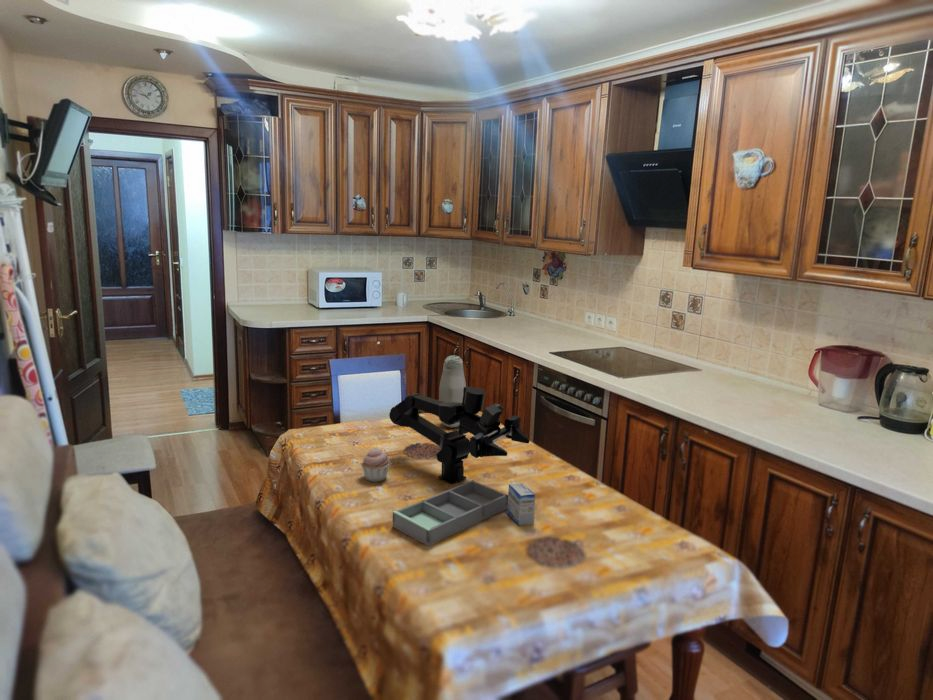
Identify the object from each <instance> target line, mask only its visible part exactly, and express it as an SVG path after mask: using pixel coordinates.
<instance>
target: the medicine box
mask: <svg viewBox="0 0 933 700" xmlns="http://www.w3.org/2000/svg"><path fill="white" fill-rule="evenodd" d="M507 495H508V506H507V509H506V513H507V514H508V516H509V517H510V518H511V519H513V521H514V522H515V523H516V524H517V525H518V526H527V525H533V524H534V521H535V508H536V507H535V506H536V494H535V493H534V492H533V491H532V490H531V489H530V488H529V487H527V486H526V485H525V484H524V483H523V482H515V483H509V484H508V492H507Z"/></svg>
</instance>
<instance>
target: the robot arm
mask: <svg viewBox="0 0 933 700" xmlns="http://www.w3.org/2000/svg"><path fill="white" fill-rule="evenodd" d="M485 396H486V390H485V389H483V388H481V387H473V386H472V387H471V386H466V387H464V390H463V401H462V403H458V402H449V403H446V402H442V401H439V399H435V398H432V397H428V396H426V395H423V394H422V393H413V394H409V395H407V396H406V397H405V398H404V399H403V400H401V402H399V403H397V404H396V405H395V406H393V407H392V408H391V409H390V411H389V415H388V416H389V418H390V421H391V422H392V423H393V425H396V426H399V427H403V428H410V429H412V430H413V431H414V432H417V433H418V434H419V435H421V436H423V437H424V438H425V439H427V440H429V441H430V442H433V443H434V444H435V445H437V446H438V447H439V451H438V452H437V453H436V460H437V462H439V463H441V474H440V475H438V476H437V479H439V480H441V481H444V482H446V483H448V484H450V485H453V484H456V483H458V482H461V481H463V480H466V479H467V476H466V475H464V471H465V468H464V467H465V466H464V460H466V459H468V458H469V455H470V456H472V457H473V458H475V459H478V458H485V457H507V456H508V452H507V450H505V449H504V448H502V447H500V446H499V445H497V444H496V443H495V442H496V441H498V440H500V439H501V438H503V437H506V438H508V439H510V440H511V441H513V442H517V443H523V444H530V439H529V438H528V436H527V435H526V434H525V433H524V432H523V430H522V429H521V420H522V419H521V417H520V416H518V415H516V414H514V415H512V416H510V417H508V418H506V419H505V420H504V427H502V428H501V426H500V425H501V421H500V416H501V415H502V414H503V412H504V409H505V408H504V407H503V406H502V405H501V404H498V403H494V404H491V405H489V406H487V407H486V408H484V403H485ZM483 408H484V409H483ZM420 411H421V412H422V411H423V412H425V413H428V414H430V415H434V416H436V417H438V419H439V421H440V422H441V421H442V422H444V423H446V424H447V425H452V424H455V423H459V426H457V429H456V430H452V431H449V432H447V431H445V430H444V429H442V428H440V427H439V426H438V425H436V424H434V423H433V422H431V421H429V420H427V419H425V418H424V417H423V416H421V415H420V414H419V412H420ZM481 412H482V413H481ZM479 413H481V415H478V414H479ZM442 422H441V423H442ZM468 433H469V434H471V435H473V436H471V437H469V438H468V437H467V434H468Z"/></svg>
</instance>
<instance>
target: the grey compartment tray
mask: <svg viewBox="0 0 933 700" xmlns="http://www.w3.org/2000/svg"><path fill="white" fill-rule="evenodd" d="M507 506H508V493H504V492H502V491H499V490H497V489H495V488H492V487H490V486H487V485H485V484H483V483H480V482H478V481H475V480H470V481H467V482H465V483H462V484H459V485H457V486H454V487H451V488H450V489H447V490H445V491H442V492H440V493H438V494H434V495H432V496H430V497H428V498H425V499H422V500H420V501H417V502H414V503H412V504H410V505H407V506H405V507H402V508H400V509H398V510H396V509H395V510H393V511H392V527H393V528H394V529H397V530H398V531H400V532H402V533H404V534H405V535H407V536H409V537H411V538H413V539H415V540H417V541H419V543H422V544H424V545H425V546H428V547H430V546H432V545H434V544H436V543H438V542H441V541H442V540H445V539H446V538H449V537H450V536H451V537H452V535H453V536H454V534H457V533H460V532H461V531H463V530H465V529H468V528H469V527H471V526H473V525H476V524H478V523H479V522H480V523H481V522H482V521H484V520H486V519H488V518H490V517H492V516H494V515H496V514H498V513H500V512H503V511H505V510H507Z"/></svg>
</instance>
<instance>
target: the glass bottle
mask: <svg viewBox="0 0 933 700" xmlns="http://www.w3.org/2000/svg"><path fill="white" fill-rule="evenodd" d="M440 377H441V378H440V381H439V389H438V394H439V395H438V400H439V401H442V402H446V403H449V402H458V403H462V401H463V390H464V387H467V384H466V379H465V372H464V361H463V359H462V358H461V357H460V355H459V356H458V355H455V354H453V355H449V356H447V357H446V358H445V359H444V361H443V367H442V373H441V376H440ZM440 422H441V424H442V425H444V426H445V427H447V428H458V426H459V423H455V424H452V425H447V424H446V423H444V422H442V421H441V420H440Z"/></svg>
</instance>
